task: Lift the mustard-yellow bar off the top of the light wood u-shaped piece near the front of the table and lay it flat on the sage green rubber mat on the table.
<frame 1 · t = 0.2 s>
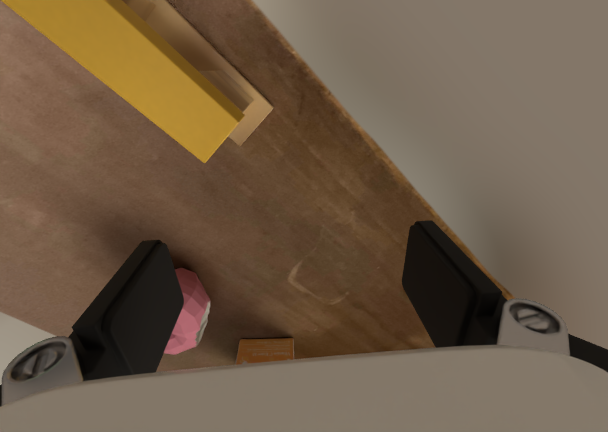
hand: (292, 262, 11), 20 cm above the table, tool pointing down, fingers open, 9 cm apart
small box: (266, 350, 44), on the table
light wood u-shaped piece: (182, 56, 25), on the table
apple: (184, 278, 36), on the table
bar: (135, 51, 17), point 9 cm above the table, touching light wood u-shaped piece
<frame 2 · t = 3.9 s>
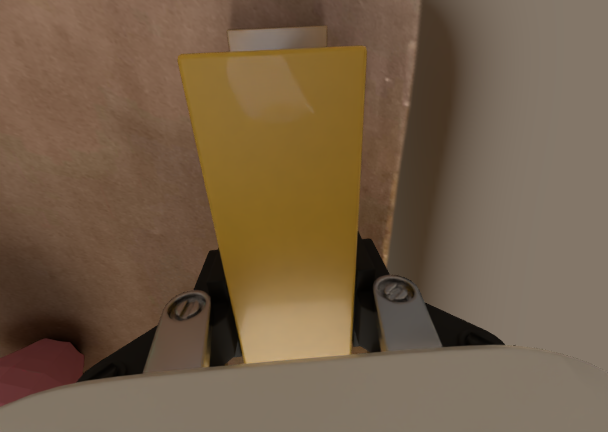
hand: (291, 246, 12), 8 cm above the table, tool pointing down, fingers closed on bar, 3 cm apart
light wood u-shaped piece: (288, 181, 19), on the table
apple: (62, 348, 25), on the table
bar: (292, 265, 11), point 9 cm above the table, touching gripper, light wood u-shaped piece
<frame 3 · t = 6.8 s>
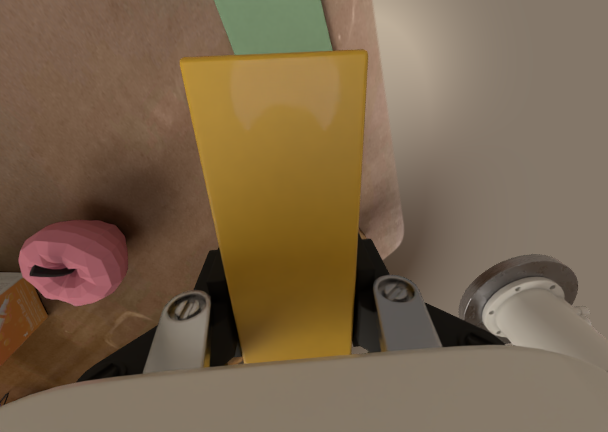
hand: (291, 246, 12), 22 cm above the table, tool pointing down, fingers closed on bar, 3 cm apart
small box: (16, 293, 39), on the table
mat: (269, 6, 26), on the table
apple: (108, 232, 35), on the table
bar: (292, 266, 11), point 23 cm above the table, touching gripper
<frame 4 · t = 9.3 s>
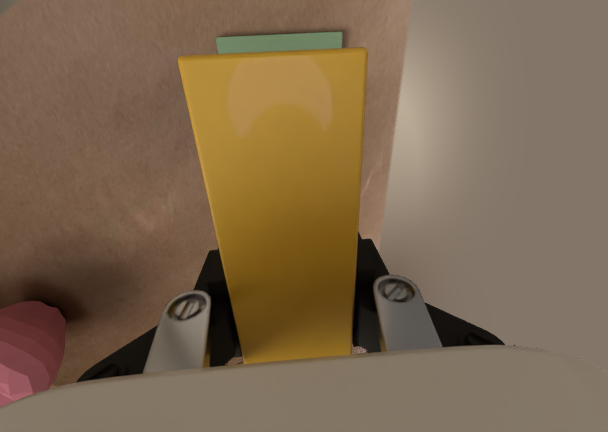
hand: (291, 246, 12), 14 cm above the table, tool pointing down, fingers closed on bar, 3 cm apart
mat: (288, 157, 25), on the table
apple: (47, 311, 31), on the table
bar: (292, 266, 11), point 15 cm above the table, touching gripper
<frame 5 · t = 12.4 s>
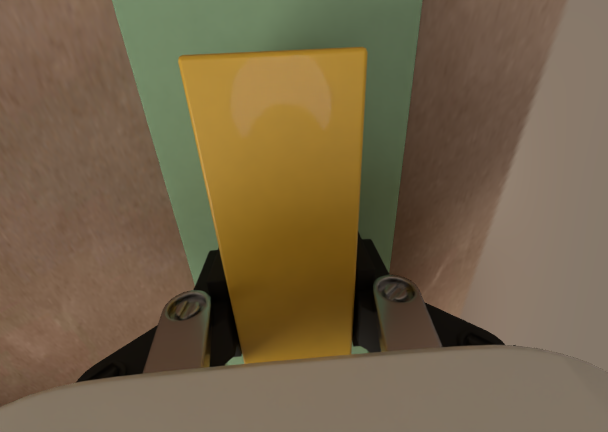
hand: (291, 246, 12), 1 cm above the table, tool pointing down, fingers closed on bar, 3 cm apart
mat: (290, 238, 12), on the table
bar: (292, 265, 11), point 2 cm above the table, touching gripper
when the fingers open (1 cm above the table, at t = 14.9 s): bar drops 2 cm, resting on mat.
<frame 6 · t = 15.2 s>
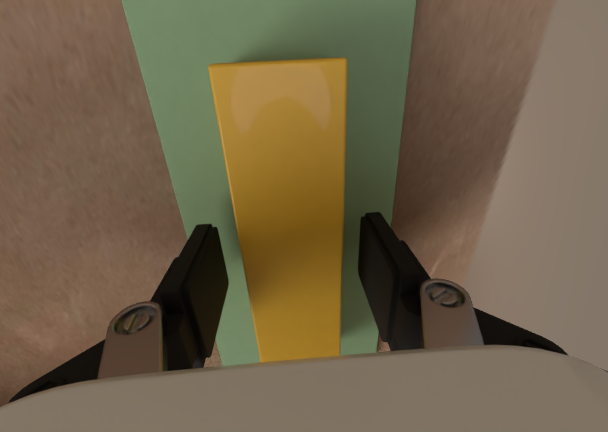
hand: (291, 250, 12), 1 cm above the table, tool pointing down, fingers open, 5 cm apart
mat: (291, 233, 13), on the table
bar: (292, 240, 13), resting on mat
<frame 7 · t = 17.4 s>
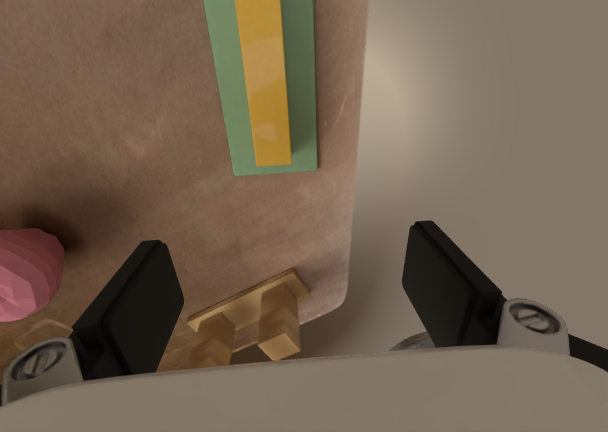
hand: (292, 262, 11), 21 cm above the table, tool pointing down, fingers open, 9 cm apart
light wood u-shaped piece: (248, 304, 40), on the table
mat: (267, 81, 27), on the table
apple: (46, 240, 33), on the table
bar: (267, 83, 26), resting on mat
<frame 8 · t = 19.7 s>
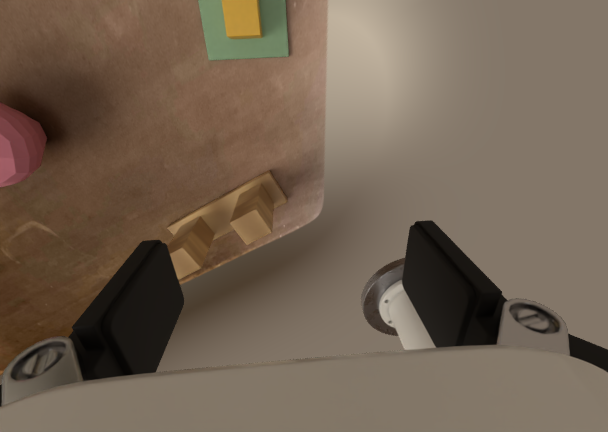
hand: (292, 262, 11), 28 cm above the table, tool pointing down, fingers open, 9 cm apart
light wood u-shaped piece: (228, 211, 41), on the table
apple: (30, 130, 34), on the table
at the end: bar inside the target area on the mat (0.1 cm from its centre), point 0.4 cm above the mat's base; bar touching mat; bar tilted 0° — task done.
